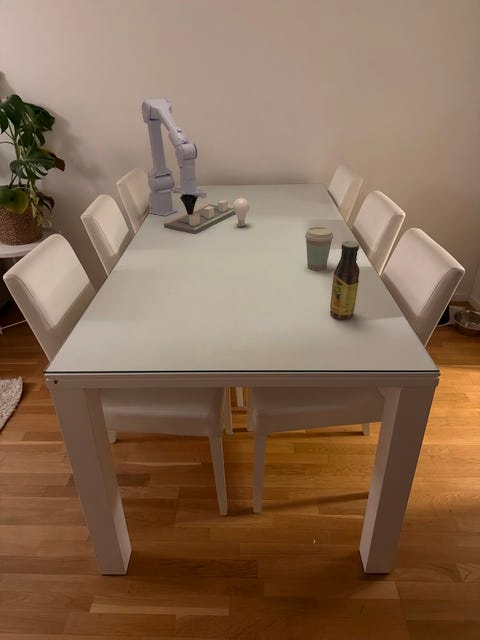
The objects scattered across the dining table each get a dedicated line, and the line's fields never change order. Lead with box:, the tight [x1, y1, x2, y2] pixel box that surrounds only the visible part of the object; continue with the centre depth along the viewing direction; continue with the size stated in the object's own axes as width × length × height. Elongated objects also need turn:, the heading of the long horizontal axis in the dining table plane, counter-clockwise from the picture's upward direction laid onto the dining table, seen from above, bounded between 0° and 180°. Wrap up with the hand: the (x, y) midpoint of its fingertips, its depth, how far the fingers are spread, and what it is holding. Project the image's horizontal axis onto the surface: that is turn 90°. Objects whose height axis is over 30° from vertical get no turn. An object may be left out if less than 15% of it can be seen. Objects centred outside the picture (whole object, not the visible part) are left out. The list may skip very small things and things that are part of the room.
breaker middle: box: [204, 206, 214, 219], centre depth 185 cm, size 2×4×4 cm
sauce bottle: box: [329, 240, 361, 320], centre depth 115 cm, size 7×6×20 cm
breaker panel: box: [163, 203, 236, 235], centre depth 188 cm, size 15×30×2 cm, turn 148°
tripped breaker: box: [189, 213, 200, 226], centre depth 178 cm, size 2×4×4 cm
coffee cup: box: [304, 226, 334, 272], centre depth 144 cm, size 8×8×12 cm
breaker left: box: [217, 199, 229, 212], centre depth 193 cm, size 2×4×4 cm
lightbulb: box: [232, 197, 250, 228], centre depth 178 cm, size 6×6×11 cm
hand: (190, 214), depth 178 cm, fingers closed
